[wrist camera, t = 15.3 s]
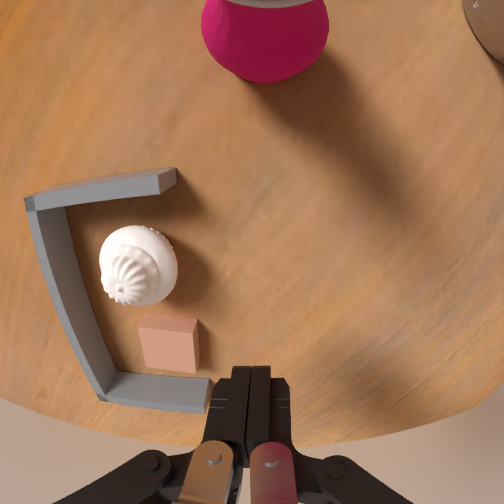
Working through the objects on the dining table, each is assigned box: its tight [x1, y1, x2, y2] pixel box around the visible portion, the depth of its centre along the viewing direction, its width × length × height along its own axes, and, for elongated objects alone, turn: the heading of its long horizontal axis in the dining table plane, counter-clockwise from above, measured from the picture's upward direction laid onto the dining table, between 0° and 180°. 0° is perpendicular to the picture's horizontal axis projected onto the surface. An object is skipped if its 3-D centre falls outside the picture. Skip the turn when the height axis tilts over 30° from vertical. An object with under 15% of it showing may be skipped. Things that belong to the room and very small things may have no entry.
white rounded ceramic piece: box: [99, 225, 178, 306], centre depth 20 cm, size 6×6×7 cm
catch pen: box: [24, 167, 210, 414], centre depth 24 cm, size 12×22×4 cm, turn 3°
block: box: [138, 313, 200, 374], centre depth 26 cm, size 5×5×2 cm
